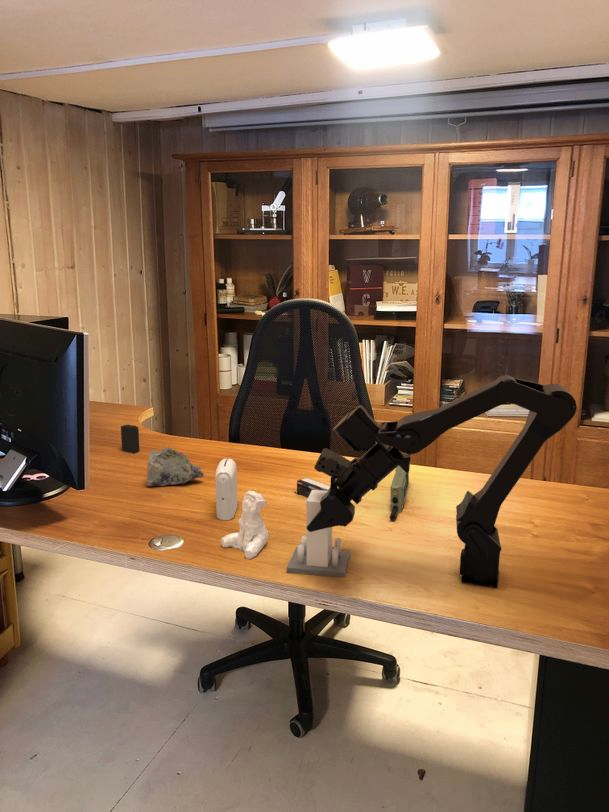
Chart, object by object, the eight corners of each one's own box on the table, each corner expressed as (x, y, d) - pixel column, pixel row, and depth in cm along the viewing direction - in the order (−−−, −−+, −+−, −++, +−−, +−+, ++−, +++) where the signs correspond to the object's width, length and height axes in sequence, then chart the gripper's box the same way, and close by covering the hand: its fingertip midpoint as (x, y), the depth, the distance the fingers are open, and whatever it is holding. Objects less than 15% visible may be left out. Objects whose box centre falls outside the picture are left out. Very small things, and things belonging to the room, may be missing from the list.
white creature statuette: (218, 546, 137) (216, 491, 134) (249, 533, 143) (248, 480, 140) (249, 560, 131) (248, 503, 128) (280, 546, 137) (280, 491, 134)
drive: (332, 553, 132) (332, 491, 129) (327, 567, 126) (327, 502, 123) (312, 551, 132) (312, 489, 129) (306, 565, 127) (306, 501, 124)
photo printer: (234, 520, 150) (232, 468, 147) (215, 520, 150) (213, 468, 147) (239, 503, 160) (237, 454, 157) (221, 503, 160) (219, 454, 157)
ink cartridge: (139, 451, 199) (138, 426, 197) (134, 454, 198) (133, 428, 196) (127, 449, 202) (126, 423, 200) (122, 451, 200) (120, 425, 198)
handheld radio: (410, 485, 172) (400, 523, 148) (397, 484, 173) (385, 522, 149) (410, 460, 170) (400, 495, 147) (397, 459, 171) (385, 494, 148)
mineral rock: (206, 482, 174) (205, 445, 172) (180, 495, 165) (178, 456, 162) (167, 474, 180) (165, 438, 178) (140, 486, 171) (137, 449, 169)
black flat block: (334, 521, 150) (334, 504, 149) (263, 492, 168) (263, 476, 167) (377, 504, 160) (377, 488, 159) (305, 478, 178) (305, 463, 177)
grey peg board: (350, 555, 133) (350, 534, 132) (344, 577, 124) (345, 555, 123) (296, 551, 135) (296, 530, 134) (286, 572, 126) (286, 550, 125)
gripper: (347, 424, 131) (292, 473, 136) (333, 452, 114) (271, 508, 118) (386, 464, 132) (330, 512, 137) (378, 498, 114) (315, 553, 119)
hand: (312, 519), depth 127 cm, fingers open, 9 cm apart
